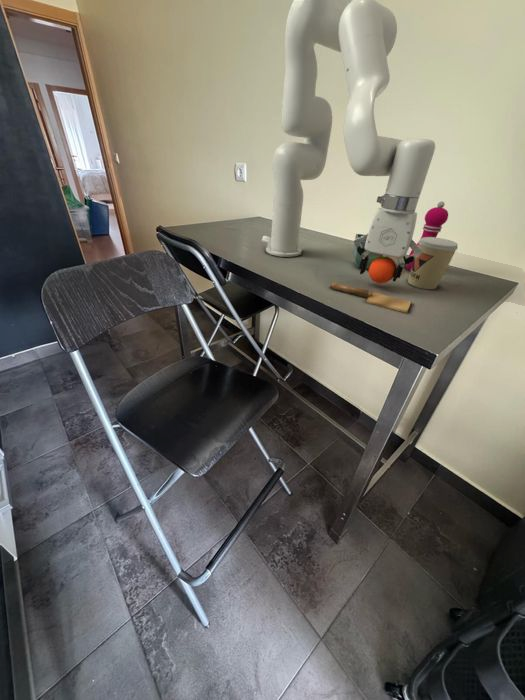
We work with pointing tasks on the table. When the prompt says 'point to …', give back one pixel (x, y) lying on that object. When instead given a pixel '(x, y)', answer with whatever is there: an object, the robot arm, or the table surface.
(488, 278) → the table surface
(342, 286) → the spatula
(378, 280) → the clementine
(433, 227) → the pepper mill
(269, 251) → the robot arm
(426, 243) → the coffee cup
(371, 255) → the flower pot
